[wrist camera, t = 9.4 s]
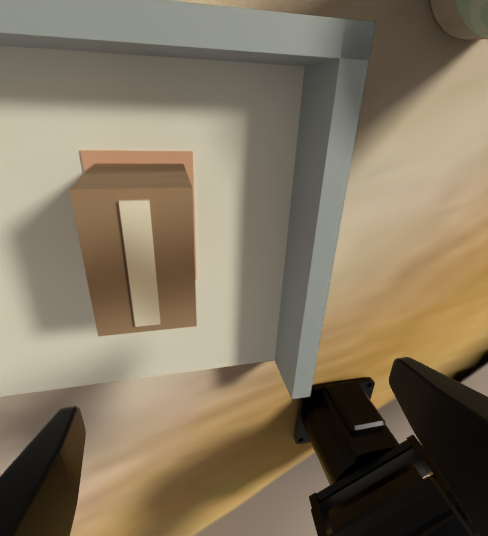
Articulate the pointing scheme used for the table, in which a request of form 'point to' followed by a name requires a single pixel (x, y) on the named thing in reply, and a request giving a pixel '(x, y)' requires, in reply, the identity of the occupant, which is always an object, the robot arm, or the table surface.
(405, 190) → the table surface
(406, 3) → the table surface
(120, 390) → the table surface
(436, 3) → the coffee cup
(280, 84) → the arena
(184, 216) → the walnut block
